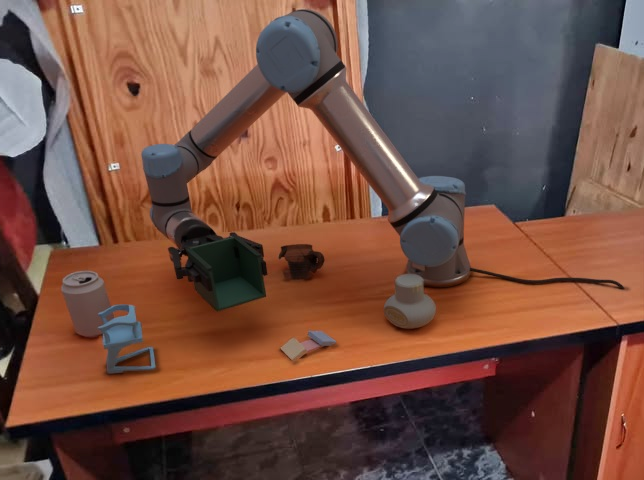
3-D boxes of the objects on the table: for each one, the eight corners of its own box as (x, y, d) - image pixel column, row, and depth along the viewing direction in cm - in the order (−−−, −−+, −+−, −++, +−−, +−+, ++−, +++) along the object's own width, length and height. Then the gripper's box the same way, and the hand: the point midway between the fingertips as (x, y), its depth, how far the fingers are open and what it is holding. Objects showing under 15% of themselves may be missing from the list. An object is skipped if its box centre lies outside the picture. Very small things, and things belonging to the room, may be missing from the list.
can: (101, 341, 134) (84, 288, 127) (68, 336, 135) (49, 283, 129) (124, 322, 140) (109, 270, 134) (92, 318, 141) (75, 266, 135)
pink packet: (292, 345, 133) (293, 349, 134) (301, 353, 131) (301, 357, 132) (315, 337, 136) (315, 341, 137) (323, 344, 134) (324, 348, 134)
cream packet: (291, 359, 129) (294, 363, 130) (305, 348, 130) (307, 351, 131) (279, 348, 132) (282, 351, 133) (293, 336, 133) (295, 339, 134)
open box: (194, 290, 133) (185, 248, 128) (243, 276, 139) (236, 235, 134) (216, 312, 127) (207, 268, 122) (267, 296, 132) (260, 254, 127)
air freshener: (378, 320, 144) (375, 277, 139) (405, 305, 149) (404, 264, 144) (415, 338, 138) (414, 295, 133) (442, 323, 144) (442, 281, 138)
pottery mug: (272, 282, 158) (268, 246, 157) (295, 282, 167) (291, 248, 166) (317, 277, 154) (313, 240, 153) (338, 278, 163) (334, 243, 162)
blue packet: (323, 341, 132) (321, 346, 133) (336, 341, 135) (335, 346, 135) (308, 330, 135) (307, 335, 136) (321, 330, 138) (320, 335, 138)
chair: (106, 359, 129) (89, 304, 123) (153, 350, 132) (139, 295, 126) (107, 381, 124) (89, 324, 117) (156, 371, 127) (141, 315, 120)
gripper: (247, 239, 148) (295, 278, 134) (140, 266, 136) (181, 312, 122) (241, 207, 144) (291, 243, 130) (130, 231, 132) (172, 274, 118)
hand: (238, 276), depth 126 cm, fingers closed on open box, 10 cm apart
